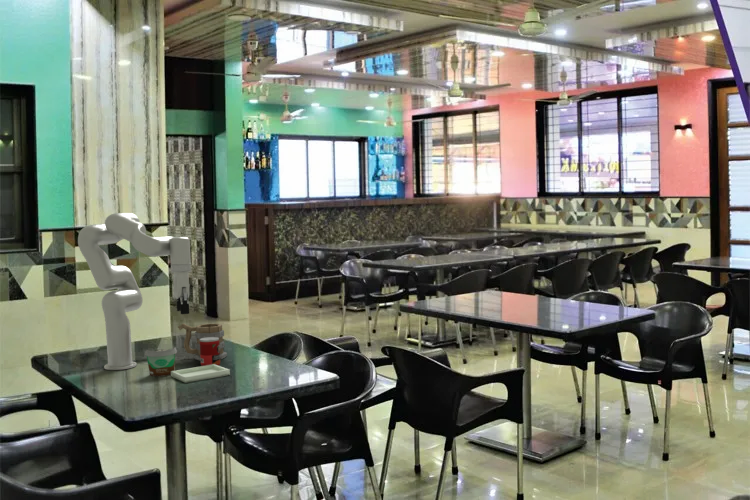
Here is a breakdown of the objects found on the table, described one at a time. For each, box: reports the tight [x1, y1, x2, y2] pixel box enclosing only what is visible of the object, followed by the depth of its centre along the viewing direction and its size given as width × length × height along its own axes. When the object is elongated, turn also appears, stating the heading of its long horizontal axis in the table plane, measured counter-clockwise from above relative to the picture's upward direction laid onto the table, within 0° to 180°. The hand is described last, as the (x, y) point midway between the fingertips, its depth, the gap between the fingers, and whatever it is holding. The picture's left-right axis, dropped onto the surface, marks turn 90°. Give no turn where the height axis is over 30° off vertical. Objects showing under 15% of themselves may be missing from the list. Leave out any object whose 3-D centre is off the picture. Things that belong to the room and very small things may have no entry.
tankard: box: [177, 323, 228, 362], centre depth 333 cm, size 20×13×15 cm, turn 80°
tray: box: [170, 364, 231, 383], centre depth 299 cm, size 14×18×2 cm
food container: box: [144, 347, 178, 377], centre depth 302 cm, size 12×6×10 cm, turn 117°
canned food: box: [200, 337, 221, 366], centre depth 317 cm, size 8×8×11 cm
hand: (183, 312), depth 303 cm, fingers open, 9 cm apart
